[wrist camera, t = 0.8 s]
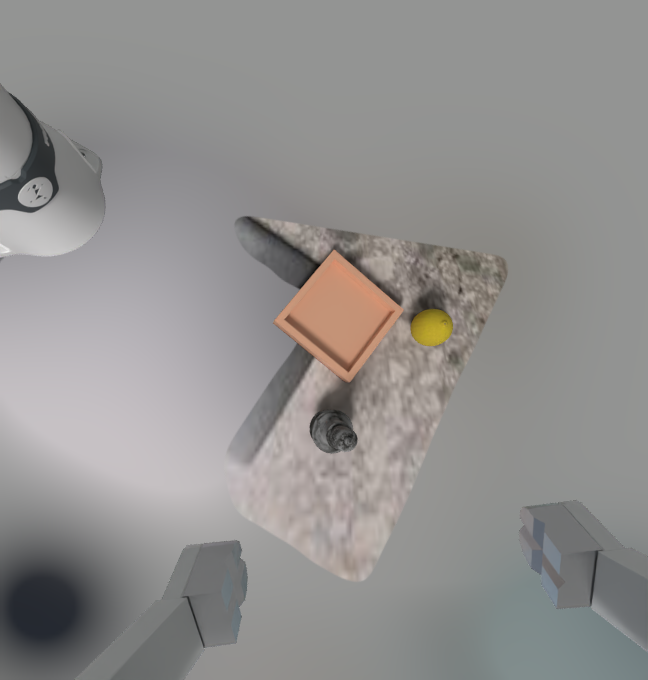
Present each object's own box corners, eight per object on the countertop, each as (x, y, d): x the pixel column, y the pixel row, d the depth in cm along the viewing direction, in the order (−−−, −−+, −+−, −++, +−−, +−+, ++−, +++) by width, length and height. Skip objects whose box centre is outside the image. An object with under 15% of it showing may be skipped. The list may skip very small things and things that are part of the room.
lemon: (406, 309, 57) (432, 299, 50) (437, 320, 58) (466, 311, 51) (398, 342, 57) (423, 336, 49) (429, 352, 58) (458, 348, 50)
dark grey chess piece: (309, 406, 53) (327, 414, 41) (347, 409, 54) (376, 418, 42) (305, 447, 52) (323, 467, 40) (344, 449, 53) (372, 470, 41)
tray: (272, 323, 53) (274, 320, 50) (330, 254, 56) (334, 249, 53) (345, 382, 54) (349, 382, 52) (397, 312, 57) (403, 309, 55)
